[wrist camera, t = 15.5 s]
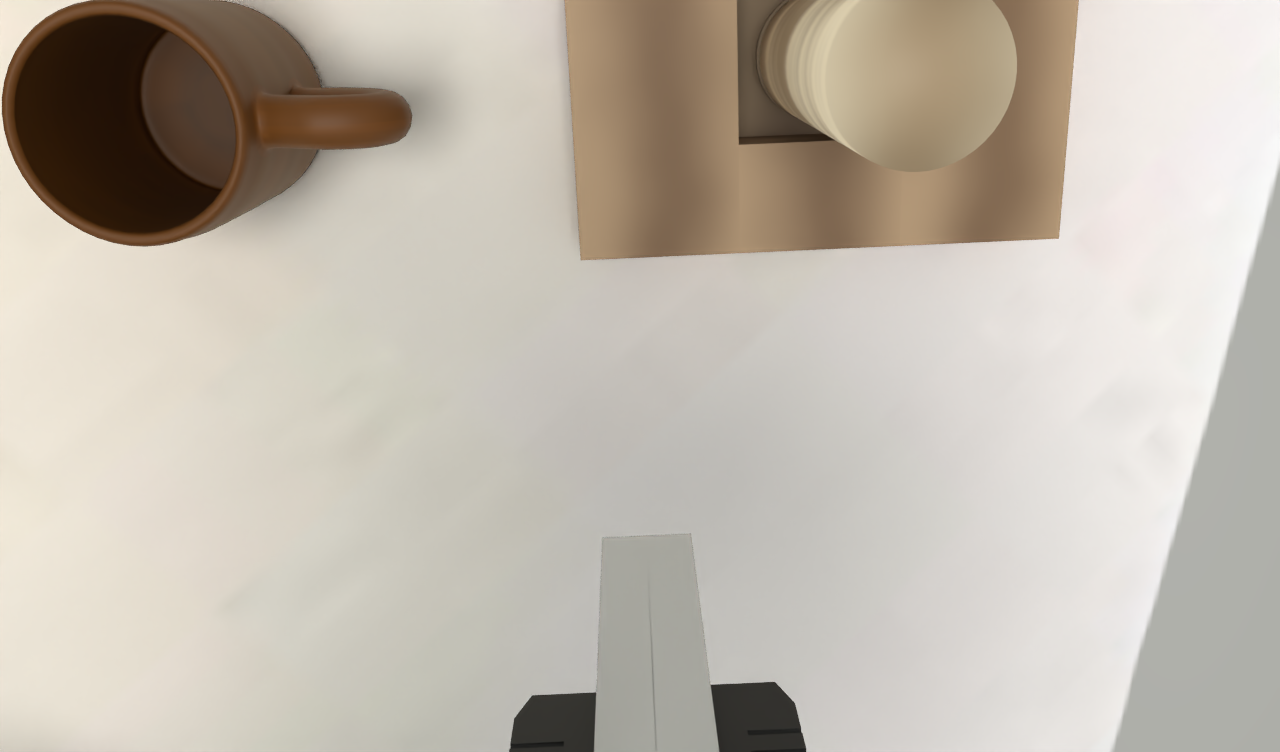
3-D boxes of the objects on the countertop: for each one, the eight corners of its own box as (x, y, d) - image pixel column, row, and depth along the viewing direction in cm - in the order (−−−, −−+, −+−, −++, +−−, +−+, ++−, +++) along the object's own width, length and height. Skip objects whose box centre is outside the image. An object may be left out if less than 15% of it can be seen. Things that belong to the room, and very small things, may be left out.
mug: (438, -4, 40) (384, -9, 31) (451, 200, 42) (406, 248, 34) (115, 0, 40) (-31, -5, 31) (147, 203, 42) (21, 253, 33)
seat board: (583, 244, 43) (580, 260, 40) (560, -139, 39) (555, -151, 36) (1030, 223, 43) (1058, 238, 40) (1058, -162, 39) (1093, -176, 36)
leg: (749, 118, 41) (822, 178, 26) (747, -9, 40) (825, -24, 24) (868, 112, 41) (1012, 169, 26) (871, -15, 40) (1026, -33, 24)
